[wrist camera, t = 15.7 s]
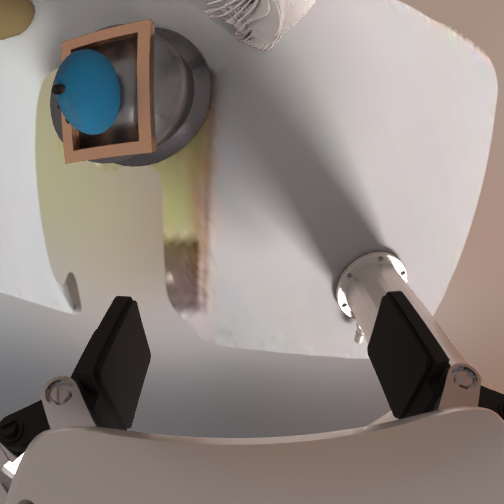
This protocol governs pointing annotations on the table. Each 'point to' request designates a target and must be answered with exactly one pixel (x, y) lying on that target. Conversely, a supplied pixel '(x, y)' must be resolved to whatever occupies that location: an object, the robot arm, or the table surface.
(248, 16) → the shell sculpture
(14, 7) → the squeeze bottle
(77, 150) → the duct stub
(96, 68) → the ornament
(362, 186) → the table surface
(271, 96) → the table surface
